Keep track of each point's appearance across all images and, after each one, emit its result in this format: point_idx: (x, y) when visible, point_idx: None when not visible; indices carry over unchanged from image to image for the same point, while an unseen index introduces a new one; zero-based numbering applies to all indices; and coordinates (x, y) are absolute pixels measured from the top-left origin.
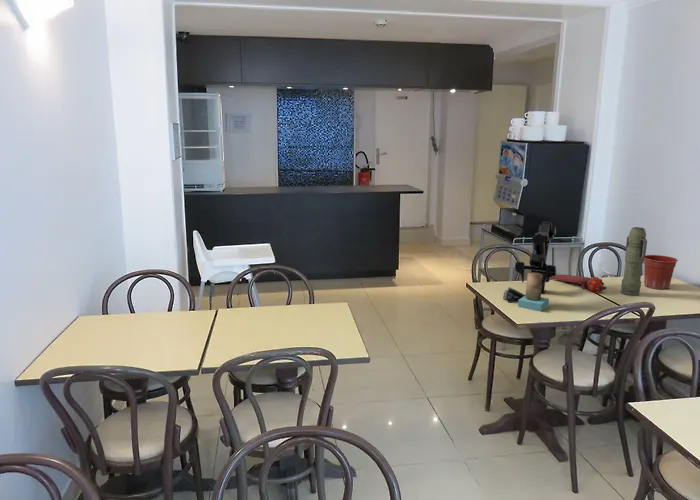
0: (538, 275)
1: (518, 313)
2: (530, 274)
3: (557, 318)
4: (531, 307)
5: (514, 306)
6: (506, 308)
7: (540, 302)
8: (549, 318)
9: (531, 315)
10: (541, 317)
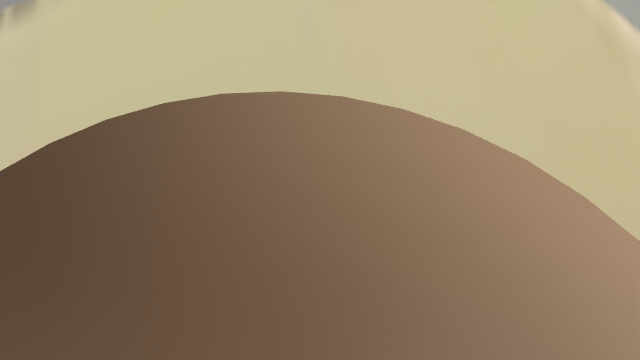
0: (15, 174)
1: (429, 13)
2: (499, 150)
3: (59, 56)
4: None
5: None
6: (596, 103)
7: None
8: (131, 21)
9: (299, 19)
10: (203, 12)
